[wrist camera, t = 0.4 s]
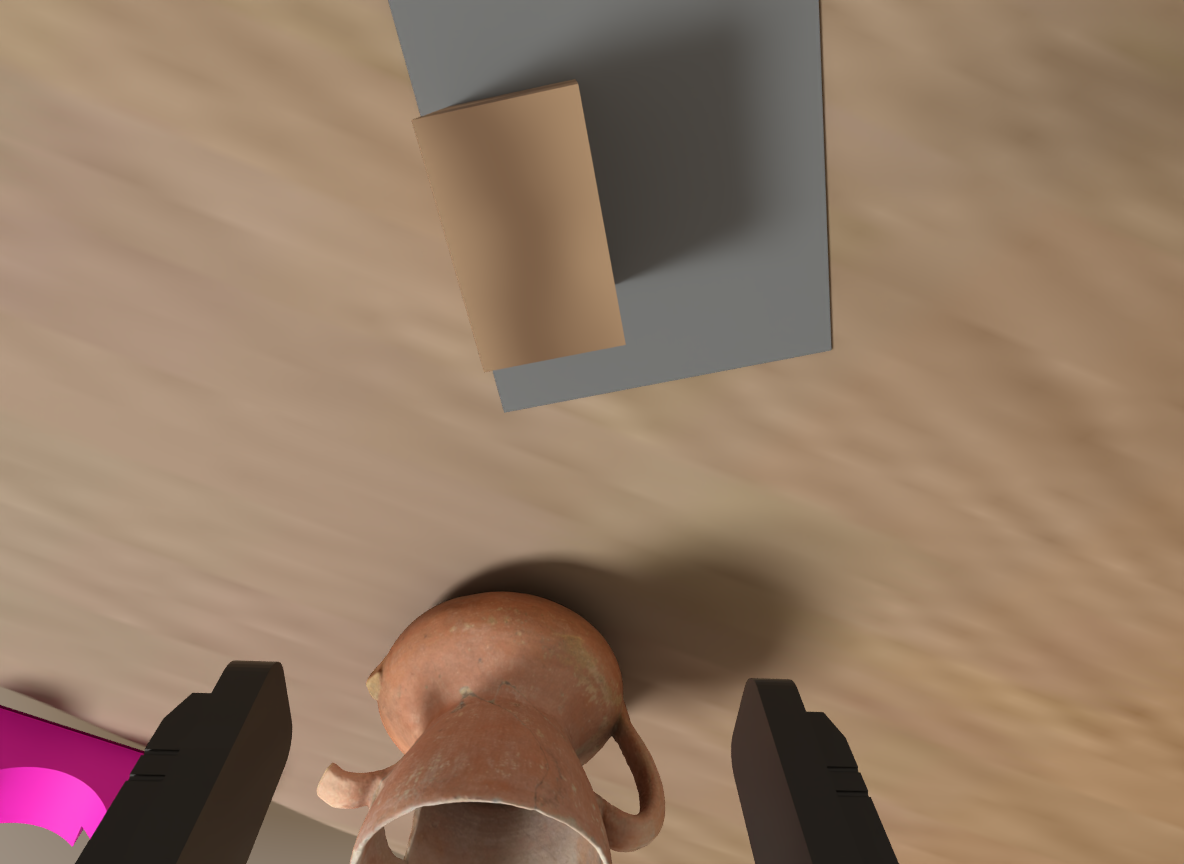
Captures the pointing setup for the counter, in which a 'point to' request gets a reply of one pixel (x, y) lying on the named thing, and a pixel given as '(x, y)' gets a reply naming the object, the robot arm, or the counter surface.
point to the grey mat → (665, 168)
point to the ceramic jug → (499, 740)
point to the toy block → (58, 774)
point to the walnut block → (523, 224)
